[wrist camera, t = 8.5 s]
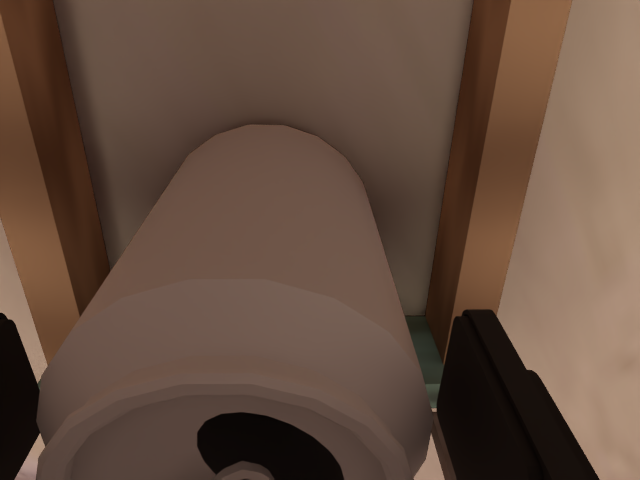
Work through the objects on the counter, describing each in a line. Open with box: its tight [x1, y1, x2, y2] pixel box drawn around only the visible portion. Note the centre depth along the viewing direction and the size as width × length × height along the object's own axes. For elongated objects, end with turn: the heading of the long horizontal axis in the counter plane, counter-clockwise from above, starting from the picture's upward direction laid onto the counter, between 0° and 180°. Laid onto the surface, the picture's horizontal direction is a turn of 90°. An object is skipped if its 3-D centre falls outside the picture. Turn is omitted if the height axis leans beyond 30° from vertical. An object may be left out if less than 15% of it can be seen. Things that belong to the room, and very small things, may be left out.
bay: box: [0, 0, 572, 480], centre depth 13 cm, size 19×16×9 cm
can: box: [36, 125, 434, 480], centre depth 13 cm, size 8×8×12 cm
